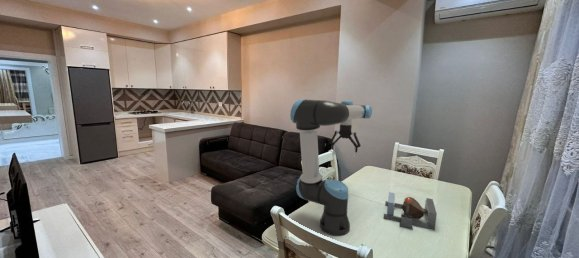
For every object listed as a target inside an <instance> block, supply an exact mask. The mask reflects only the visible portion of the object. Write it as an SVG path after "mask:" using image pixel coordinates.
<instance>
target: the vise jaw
mask: <svg viewBox="0 0 579 258" xmlns="http://www.w3.org/2000/svg"><path fill="white" fill-rule="evenodd" d="M395 200H396V193H395V192H389V191H388V199H387V201H388V206H386V207H387V209H386V214H388V215H393V216H395V215H394V214H395V207H394V205H395V203H396V201H395Z"/></svg>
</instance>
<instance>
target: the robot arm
mask: <svg viewBox="0 0 579 258" xmlns="http://www.w3.org/2000/svg"><path fill="white" fill-rule="evenodd" d="M292 104H293V105H292V106H291V109H290V114H289V117H290V120H291V122H292V123H294V124H295V126H296V127H295V129H296V130H297V131H299V140H300V153H301V155H300V156H301V169H302V170H301V171H302V174H301V175H300V176H299V178H298V179H297V182H296V187H295V190H296V194H297V196H299V198H301V199H303V200H305V201H308V202H313V203H315V204H318V205H321V206H323V212H322V214H321V216H320V219H319V229H320V230H321V231H323V232H324V233H326V234H328V235H331V236H338V237H339V236H344V235H346V234H348V233H349V232H350V230H351V229H350V228H351V223H350V219H349V216H348V203H349V202H348V201H349V187H348V186H347V185H346V184H345V183H344V182H343V181H341V180H337V179H327V180H325V181H323V175H322V174H321V172H320V161H319V159H320V158H319V143H318V142H319V139H318V131H319V129H320V128H321V127H322V126H323V127H326V126H333V125H334V126H335V125H339V130H335V131H334V134H333V136H332V137H331V139H330V141H329V142H328V143H329V145H331V150H332V155H333V156H334V155H335V154H336V143H337V142H338V141H339V140H340V139H341V138H342V139H348V140H349V141H350V142H351V143H352V144H353V146H354V147H353V158H356V153H358V148H360V147H361V143H360V139H359V138H358V136H357V132H356V131H354V132H352V129H353V128H352V124H353V120H356V119H357V120H358V119H363V120H364V119H366V120H367V119H370V118H372V115H373V107H372V106H371V105H366V104H365V105H364V104H354V102H353V100H341V101H340V103H339V102H335V101H329V100H325V99H324V100H320V99H319V100H317V99H307V98H306V99H305V98H304V99H297V100H296V101H295V102H294V103H292ZM338 134H339V136H338V137H337V138H336V136H337V135H338ZM352 136H353V137H354V139H353V137H352ZM335 138H336V139H335Z"/></svg>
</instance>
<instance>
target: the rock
mask: <svg viewBox="0 0 579 258" xmlns="http://www.w3.org/2000/svg"><path fill="white" fill-rule="evenodd" d="M406 198H411V199H412V203H411V204H409V214H408V216H412V220H418V219H419V220H420V219H421V218H423V217H424V215H425V211H424V209H425V208H424V207H422V205H421V204H420V203H419V202H418V200H416V199H415V198H414V197H411V196H407V197H405V198H404V199H403V203H402V204H403V205H402V207H401V208H402V209H401V210H402V211H403V213H402V214H403V215H406V207H407V203H406V202H405V199H406Z"/></svg>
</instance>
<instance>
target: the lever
mask: <svg viewBox="0 0 579 258" xmlns="http://www.w3.org/2000/svg"><path fill="white" fill-rule="evenodd" d="M405 198H406V199H405ZM405 198H404V200H405V202H406V203H407V207H406V216H405V217H406V218H409V217H408V214H409V204H411V203H412V199H411V198H407V197H405Z"/></svg>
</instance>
